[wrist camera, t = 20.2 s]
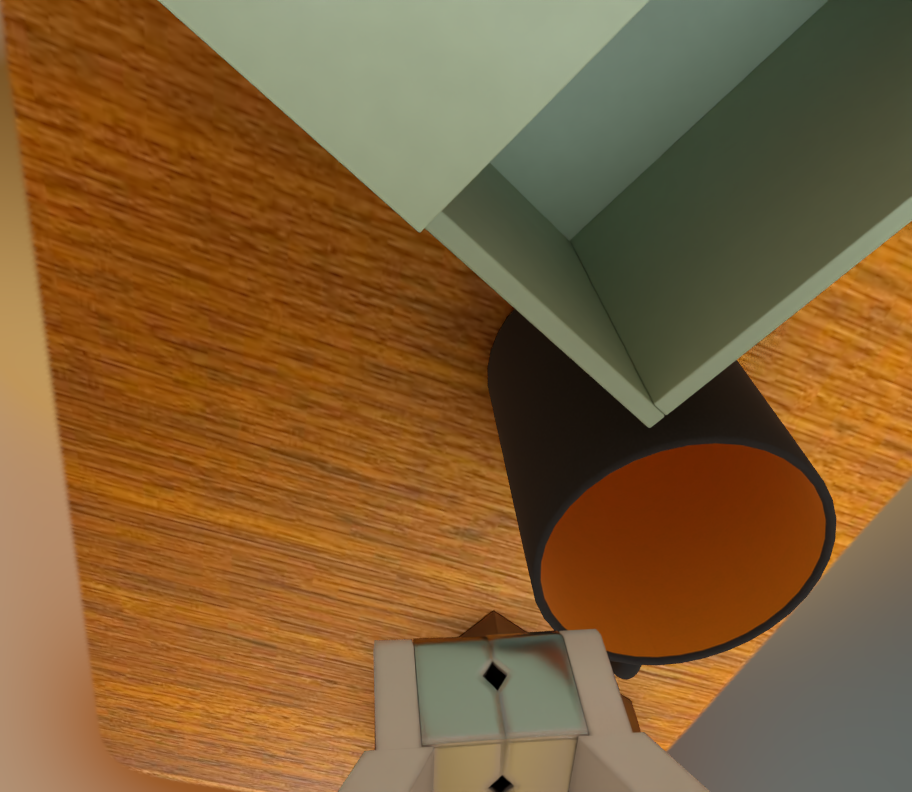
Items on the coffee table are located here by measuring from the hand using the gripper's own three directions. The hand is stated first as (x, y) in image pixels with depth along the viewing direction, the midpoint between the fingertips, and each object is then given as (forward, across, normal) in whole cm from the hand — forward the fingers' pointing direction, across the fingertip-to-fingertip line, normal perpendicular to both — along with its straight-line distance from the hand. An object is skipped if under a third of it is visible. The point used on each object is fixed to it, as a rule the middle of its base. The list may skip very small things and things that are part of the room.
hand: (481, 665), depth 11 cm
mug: (+19, -7, +8) cm, 22 cm away
